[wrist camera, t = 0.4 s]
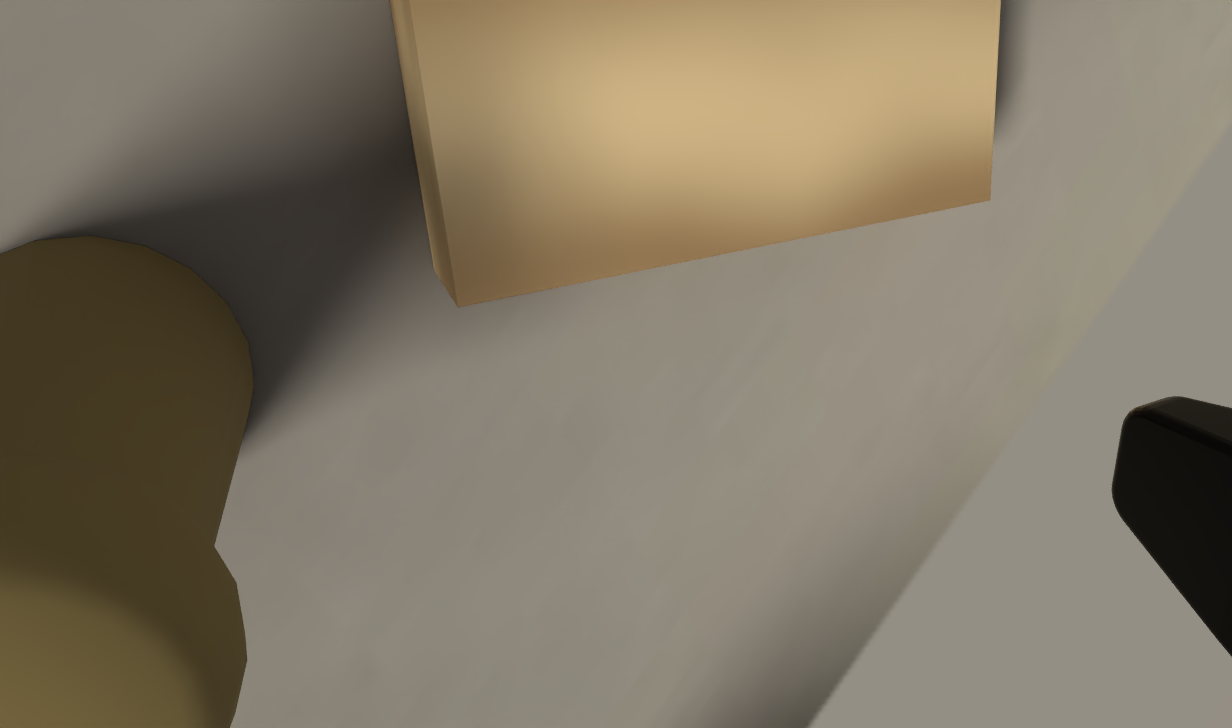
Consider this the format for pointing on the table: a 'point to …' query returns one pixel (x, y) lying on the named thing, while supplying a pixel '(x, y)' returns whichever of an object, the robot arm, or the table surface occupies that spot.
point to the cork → (117, 489)
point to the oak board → (683, 127)
